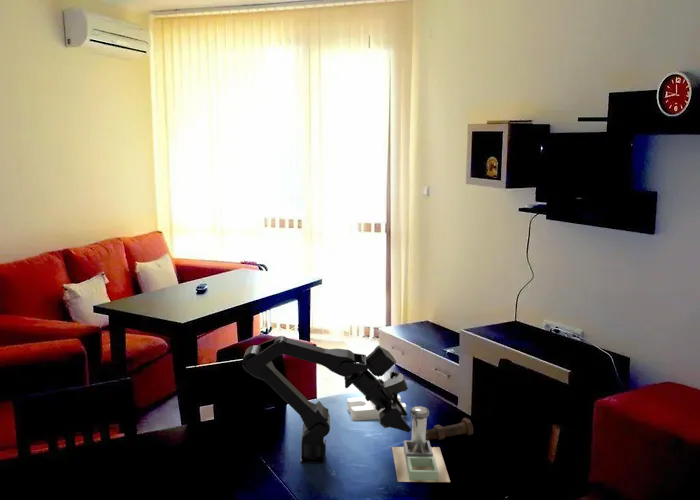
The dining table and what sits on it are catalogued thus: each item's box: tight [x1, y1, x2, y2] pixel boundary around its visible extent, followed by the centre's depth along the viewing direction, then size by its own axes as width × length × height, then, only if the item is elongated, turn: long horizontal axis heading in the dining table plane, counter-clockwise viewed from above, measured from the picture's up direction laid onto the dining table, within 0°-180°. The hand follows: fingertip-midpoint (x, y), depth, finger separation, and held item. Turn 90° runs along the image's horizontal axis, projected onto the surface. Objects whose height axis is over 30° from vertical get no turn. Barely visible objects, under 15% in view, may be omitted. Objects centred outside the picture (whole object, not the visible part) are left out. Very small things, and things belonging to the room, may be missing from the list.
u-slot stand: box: [346, 394, 407, 421], centre depth 207 cm, size 10×18×11 cm, turn 103°
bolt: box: [426, 417, 474, 441], centre depth 192 cm, size 6×5×15 cm
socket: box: [406, 457, 438, 480], centre depth 171 cm, size 8×8×2 cm
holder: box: [402, 439, 433, 462], centre depth 180 cm, size 7×7×2 cm
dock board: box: [391, 446, 451, 483], centre depth 176 cm, size 14×18×1 cm
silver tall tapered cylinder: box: [410, 405, 430, 453], centre depth 179 cm, size 5×5×14 cm
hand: (408, 422), depth 178 cm, fingers open, 9 cm apart
